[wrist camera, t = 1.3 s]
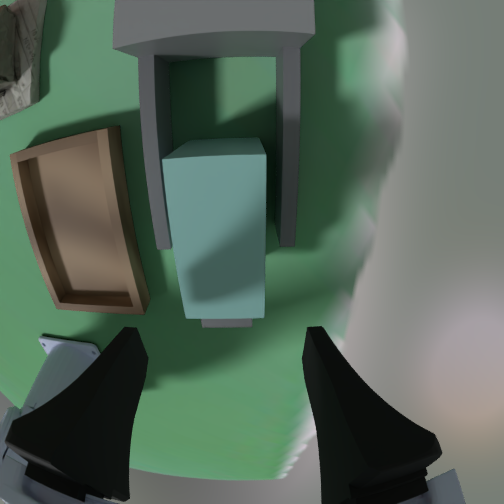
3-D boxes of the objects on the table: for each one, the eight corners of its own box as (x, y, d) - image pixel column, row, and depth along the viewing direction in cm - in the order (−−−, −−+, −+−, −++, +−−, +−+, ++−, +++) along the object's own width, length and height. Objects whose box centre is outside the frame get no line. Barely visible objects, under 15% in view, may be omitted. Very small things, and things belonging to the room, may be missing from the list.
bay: (287, 224, 18) (304, 277, 13) (169, 227, 18) (142, 280, 13) (287, -37, 10) (305, -86, 4) (159, -30, 10) (126, -72, 4)
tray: (150, 299, 21) (144, 314, 19) (65, 296, 21) (56, 309, 19) (119, 125, 15) (107, 128, 13) (24, 148, 14) (9, 154, 13)
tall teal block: (258, 274, 20) (263, 336, 15) (201, 276, 20) (189, 337, 15) (258, 137, 16) (266, 154, 10) (189, 140, 16) (162, 159, 10)
